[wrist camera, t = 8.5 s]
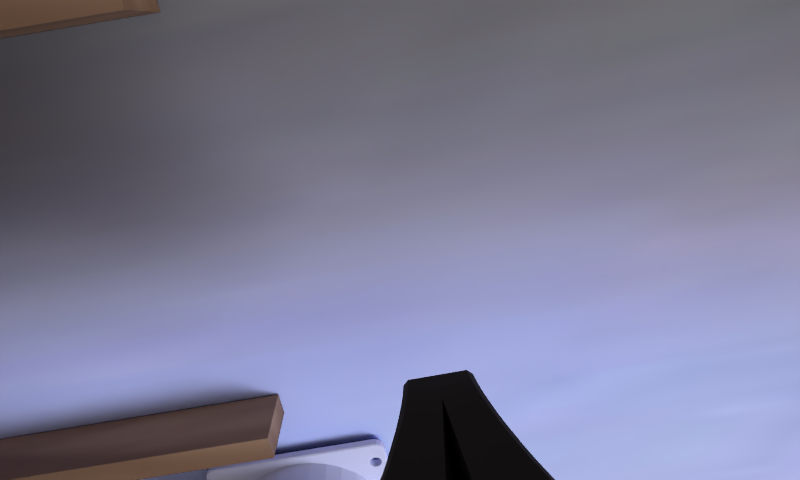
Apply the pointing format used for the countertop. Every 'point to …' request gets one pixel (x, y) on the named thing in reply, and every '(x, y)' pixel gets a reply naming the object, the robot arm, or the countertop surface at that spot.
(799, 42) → the countertop surface
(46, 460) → the wooden bracket
